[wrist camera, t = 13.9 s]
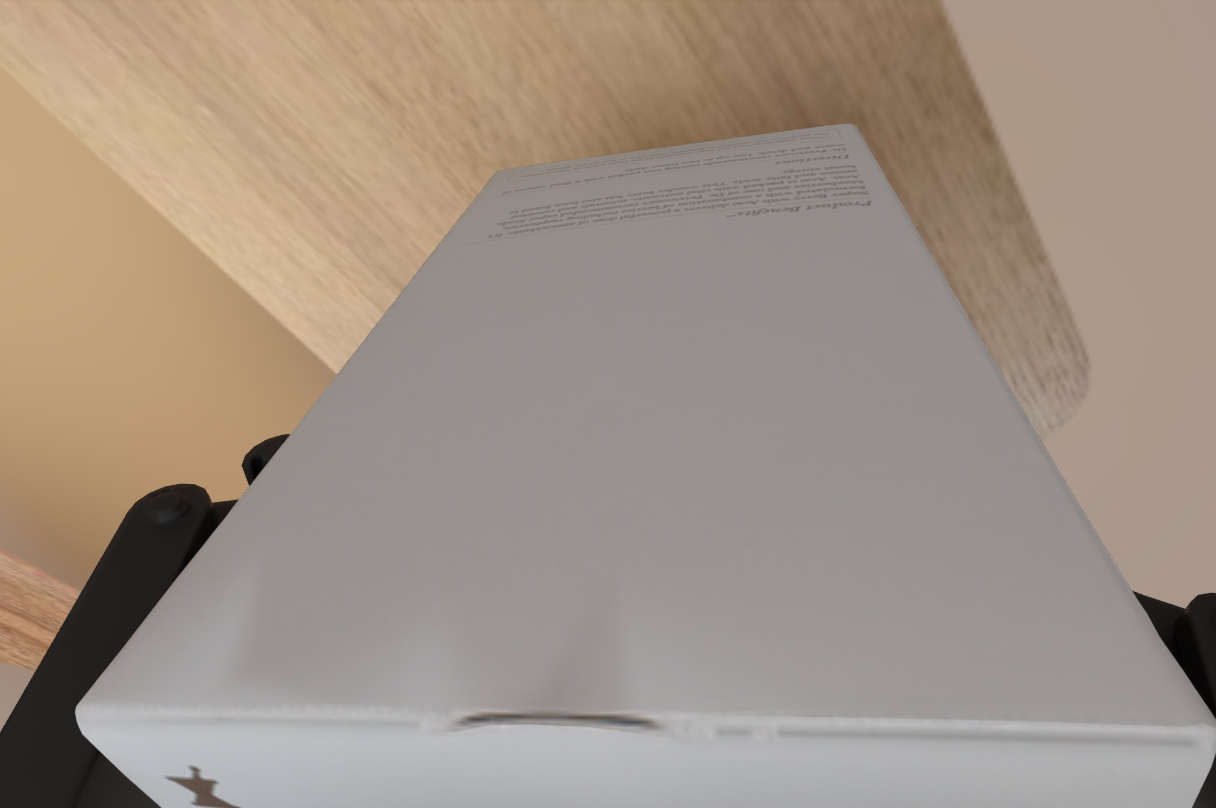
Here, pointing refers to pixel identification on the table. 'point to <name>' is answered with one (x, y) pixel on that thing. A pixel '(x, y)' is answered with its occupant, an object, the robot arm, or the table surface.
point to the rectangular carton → (661, 534)
